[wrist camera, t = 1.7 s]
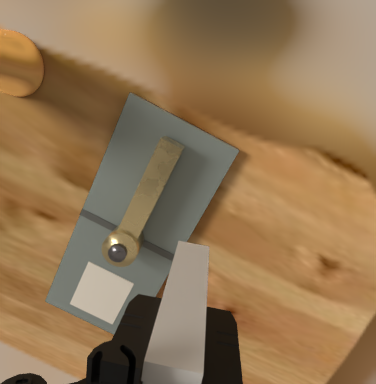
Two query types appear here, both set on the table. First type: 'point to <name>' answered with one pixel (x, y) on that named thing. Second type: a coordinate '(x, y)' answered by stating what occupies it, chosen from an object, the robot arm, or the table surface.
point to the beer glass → (19, 64)
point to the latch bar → (142, 205)
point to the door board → (118, 204)
